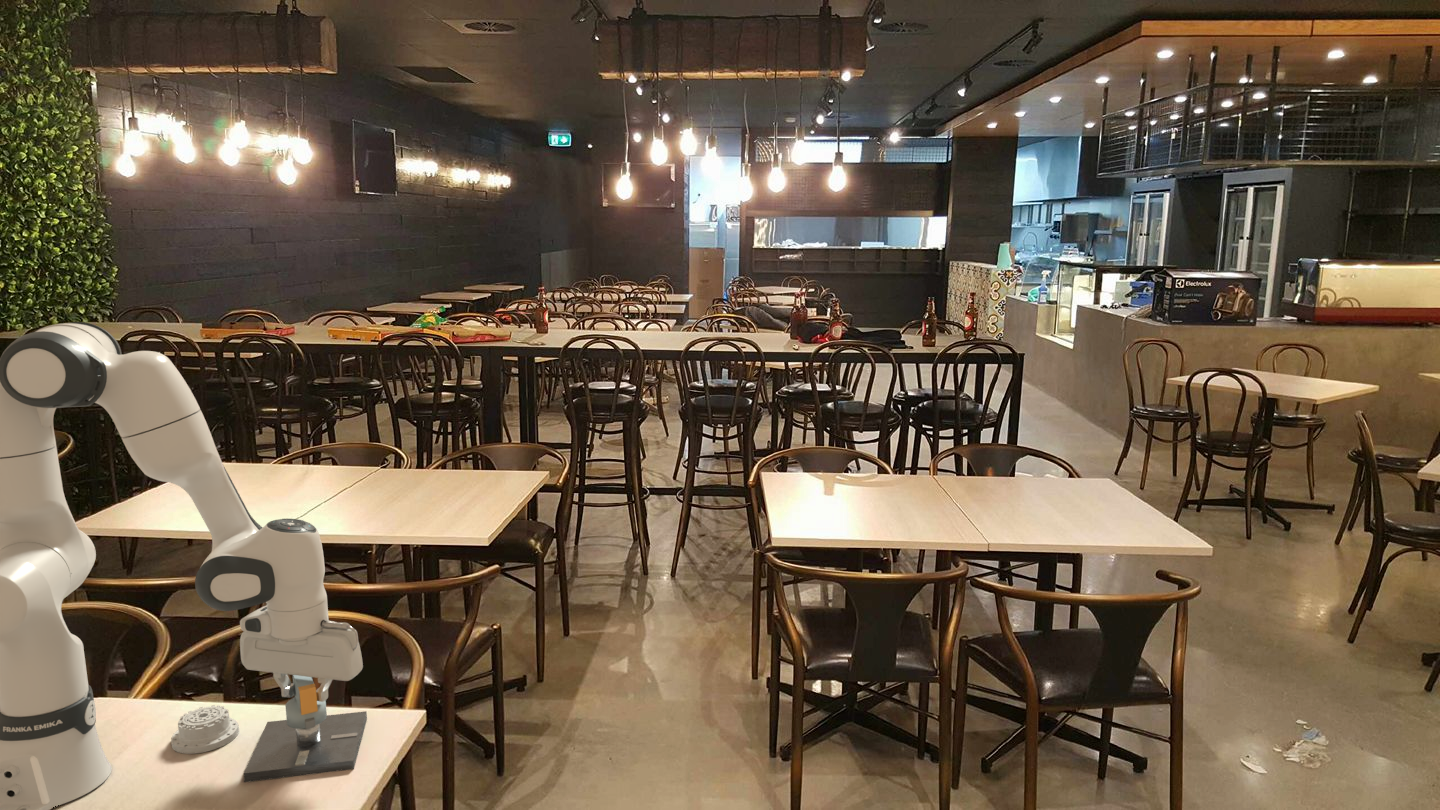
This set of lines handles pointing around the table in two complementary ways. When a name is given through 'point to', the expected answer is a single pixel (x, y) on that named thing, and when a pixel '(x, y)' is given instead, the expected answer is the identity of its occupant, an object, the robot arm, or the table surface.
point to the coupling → (305, 705)
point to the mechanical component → (204, 730)
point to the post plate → (307, 748)
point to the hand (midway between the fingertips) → (305, 697)
